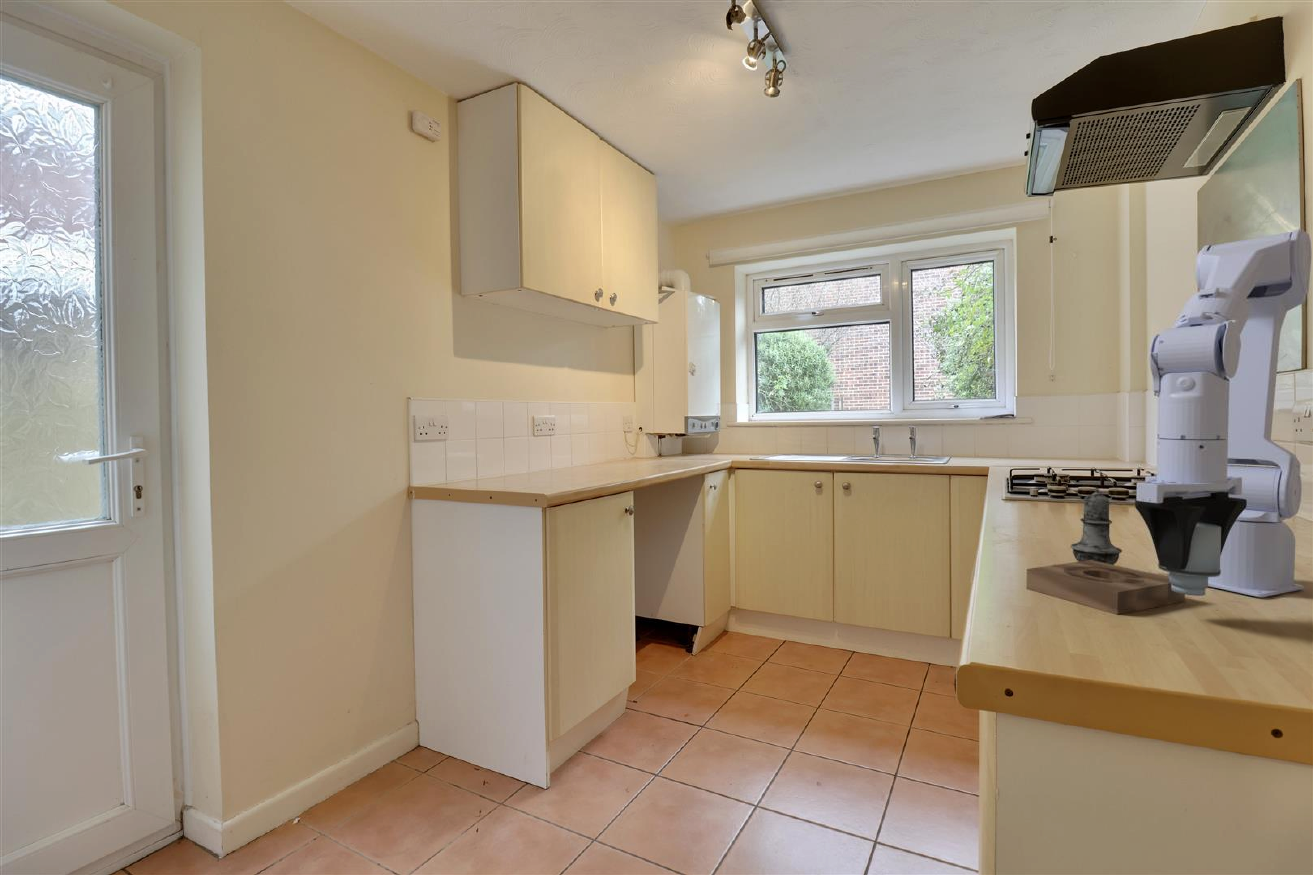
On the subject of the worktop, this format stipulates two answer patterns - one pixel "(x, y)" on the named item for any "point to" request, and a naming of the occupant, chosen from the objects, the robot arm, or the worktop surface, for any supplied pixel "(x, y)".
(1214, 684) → the worktop surface
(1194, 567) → the peg
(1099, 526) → the grey flared cylinder
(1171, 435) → the robot arm
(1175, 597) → the board
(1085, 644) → the worktop surface
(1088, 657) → the worktop surface
